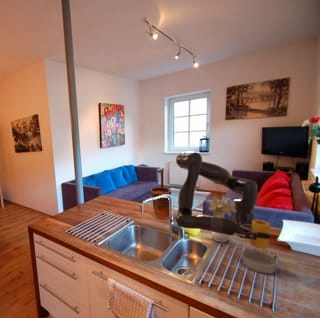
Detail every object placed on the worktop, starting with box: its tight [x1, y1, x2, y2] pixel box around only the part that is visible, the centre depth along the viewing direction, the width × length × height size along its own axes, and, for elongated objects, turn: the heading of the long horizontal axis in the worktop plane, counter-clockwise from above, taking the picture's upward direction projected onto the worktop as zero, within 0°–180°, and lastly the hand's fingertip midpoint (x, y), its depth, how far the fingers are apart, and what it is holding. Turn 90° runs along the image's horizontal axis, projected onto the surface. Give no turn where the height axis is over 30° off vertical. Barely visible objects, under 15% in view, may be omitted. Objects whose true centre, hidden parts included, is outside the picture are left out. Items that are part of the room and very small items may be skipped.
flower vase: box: [208, 194, 236, 243], centre depth 113 cm, size 13×18×25 cm
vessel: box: [150, 186, 172, 219], centre depth 151 cm, size 14×14×20 cm
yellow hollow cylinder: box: [250, 219, 271, 250], centre depth 90 cm, size 6×6×11 cm
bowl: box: [241, 248, 278, 274], centre depth 93 cm, size 12×12×4 cm
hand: (267, 233), depth 89 cm, fingers closed on yellow hollow cylinder, 6 cm apart
